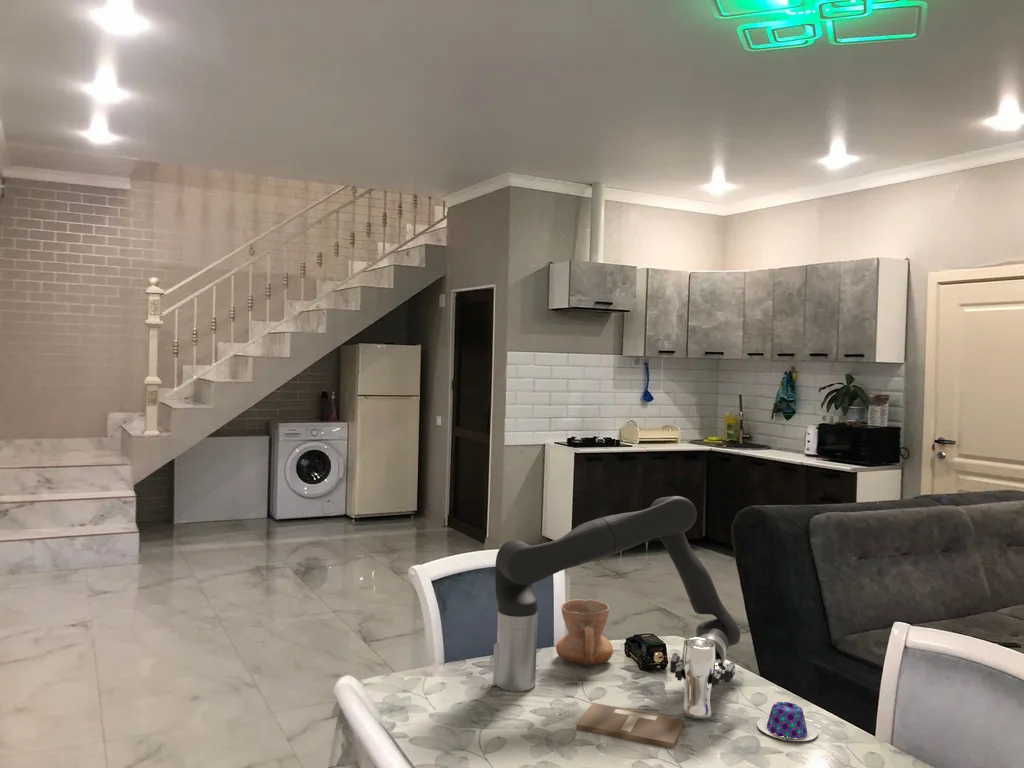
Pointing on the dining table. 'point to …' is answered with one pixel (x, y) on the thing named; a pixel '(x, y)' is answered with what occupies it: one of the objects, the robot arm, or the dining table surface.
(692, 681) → the beer glass
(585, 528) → the robot arm
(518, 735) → the dining table surface
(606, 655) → the ceramic jug
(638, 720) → the board
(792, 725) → the pudding
